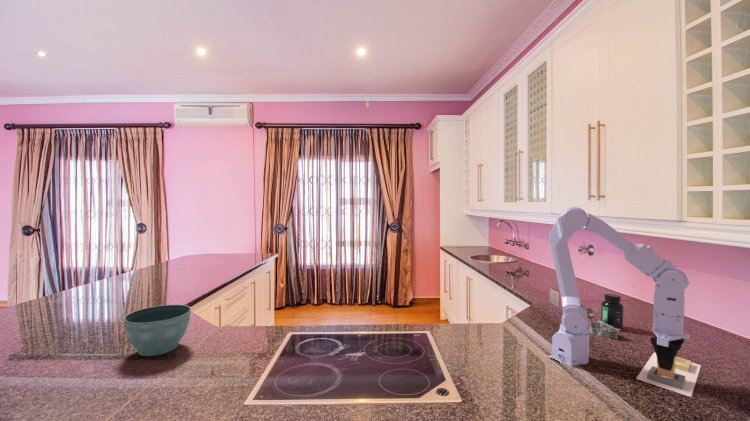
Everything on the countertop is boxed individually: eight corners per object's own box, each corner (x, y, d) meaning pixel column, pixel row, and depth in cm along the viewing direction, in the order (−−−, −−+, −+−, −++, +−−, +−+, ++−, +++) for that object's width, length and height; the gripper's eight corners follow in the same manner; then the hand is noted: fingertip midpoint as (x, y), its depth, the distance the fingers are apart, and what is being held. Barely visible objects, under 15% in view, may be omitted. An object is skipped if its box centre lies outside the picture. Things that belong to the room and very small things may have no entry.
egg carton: (578, 328, 118) (579, 317, 118) (598, 328, 118) (598, 317, 118) (601, 340, 107) (601, 328, 107) (622, 340, 108) (622, 328, 108)
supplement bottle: (604, 329, 117) (605, 296, 117) (597, 322, 123) (598, 291, 123) (626, 331, 115) (627, 298, 115) (618, 325, 121) (619, 293, 121)
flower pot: (111, 354, 89) (111, 315, 89) (170, 334, 104) (171, 301, 104) (142, 368, 82) (143, 327, 82) (202, 345, 96) (202, 309, 96)
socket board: (691, 400, 73) (691, 391, 73) (636, 381, 81) (636, 373, 81) (700, 367, 89) (701, 360, 89) (653, 354, 97) (654, 348, 97)
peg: (673, 378, 79) (674, 354, 79) (657, 373, 81) (658, 350, 81) (674, 374, 81) (675, 351, 81) (659, 369, 83) (660, 346, 83)
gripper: (686, 324, 73) (684, 383, 73) (693, 312, 82) (691, 364, 82) (646, 316, 78) (644, 370, 78) (657, 305, 88) (655, 354, 88)
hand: (666, 366), depth 81 cm, fingers closed on peg, 3 cm apart
